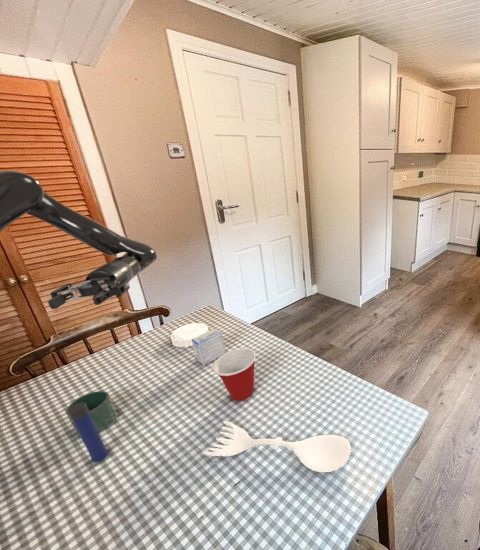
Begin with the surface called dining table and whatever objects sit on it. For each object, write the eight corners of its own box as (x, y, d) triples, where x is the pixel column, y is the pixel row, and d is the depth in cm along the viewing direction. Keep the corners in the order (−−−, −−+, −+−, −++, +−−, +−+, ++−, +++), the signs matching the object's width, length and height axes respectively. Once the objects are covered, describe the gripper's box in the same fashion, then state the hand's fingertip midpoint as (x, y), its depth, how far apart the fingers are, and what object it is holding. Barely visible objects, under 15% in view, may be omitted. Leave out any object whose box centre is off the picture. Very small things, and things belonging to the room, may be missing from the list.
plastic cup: (221, 387, 88) (212, 353, 83) (260, 376, 92) (254, 343, 87) (220, 414, 79) (211, 377, 74) (263, 401, 83) (257, 366, 78)
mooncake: (194, 326, 118) (192, 319, 117) (216, 333, 114) (214, 325, 113) (164, 343, 108) (162, 334, 107) (188, 351, 104) (185, 342, 102)
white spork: (226, 428, 75) (223, 418, 73) (354, 442, 71) (353, 431, 70) (203, 463, 66) (200, 452, 65) (347, 480, 63) (346, 469, 61)
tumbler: (68, 440, 72) (57, 418, 69) (88, 414, 79) (79, 394, 76) (107, 433, 73) (97, 412, 71) (123, 409, 81) (115, 388, 78)
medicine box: (219, 349, 105) (214, 327, 102) (226, 353, 102) (222, 332, 99) (196, 361, 99) (190, 338, 96) (203, 366, 96) (197, 343, 93)
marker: (90, 465, 66) (63, 414, 60) (97, 454, 68) (73, 403, 63) (105, 462, 67) (80, 411, 61) (111, 451, 69) (88, 401, 63)
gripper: (76, 266, 81) (29, 291, 66) (136, 262, 84) (104, 285, 69) (86, 292, 84) (43, 321, 69) (144, 287, 87) (114, 314, 72)
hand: (73, 303), depth 69 cm, fingers open, 8 cm apart
